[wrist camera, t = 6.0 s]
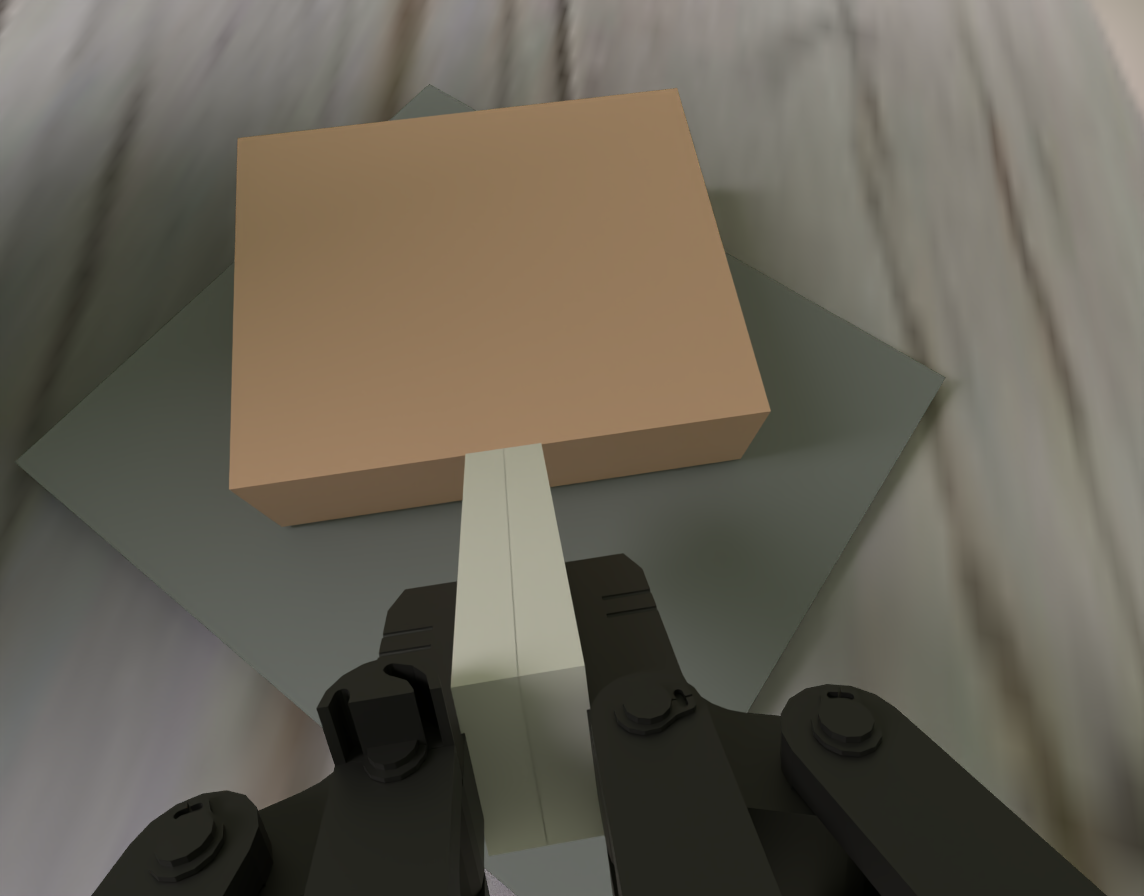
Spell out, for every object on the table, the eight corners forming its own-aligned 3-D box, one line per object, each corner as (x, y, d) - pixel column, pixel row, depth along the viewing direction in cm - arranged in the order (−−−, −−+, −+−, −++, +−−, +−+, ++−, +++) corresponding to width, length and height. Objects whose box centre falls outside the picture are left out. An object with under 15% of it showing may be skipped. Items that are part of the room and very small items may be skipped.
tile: (770, 411, 16) (677, 88, 20) (228, 489, 15) (237, 138, 19) (738, 461, 19) (662, 172, 22) (284, 529, 18) (282, 218, 22)
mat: (30, 469, 19) (14, 461, 19) (432, 98, 24) (429, 84, 24) (596, 956, 15) (597, 965, 15) (935, 387, 20) (945, 377, 20)
